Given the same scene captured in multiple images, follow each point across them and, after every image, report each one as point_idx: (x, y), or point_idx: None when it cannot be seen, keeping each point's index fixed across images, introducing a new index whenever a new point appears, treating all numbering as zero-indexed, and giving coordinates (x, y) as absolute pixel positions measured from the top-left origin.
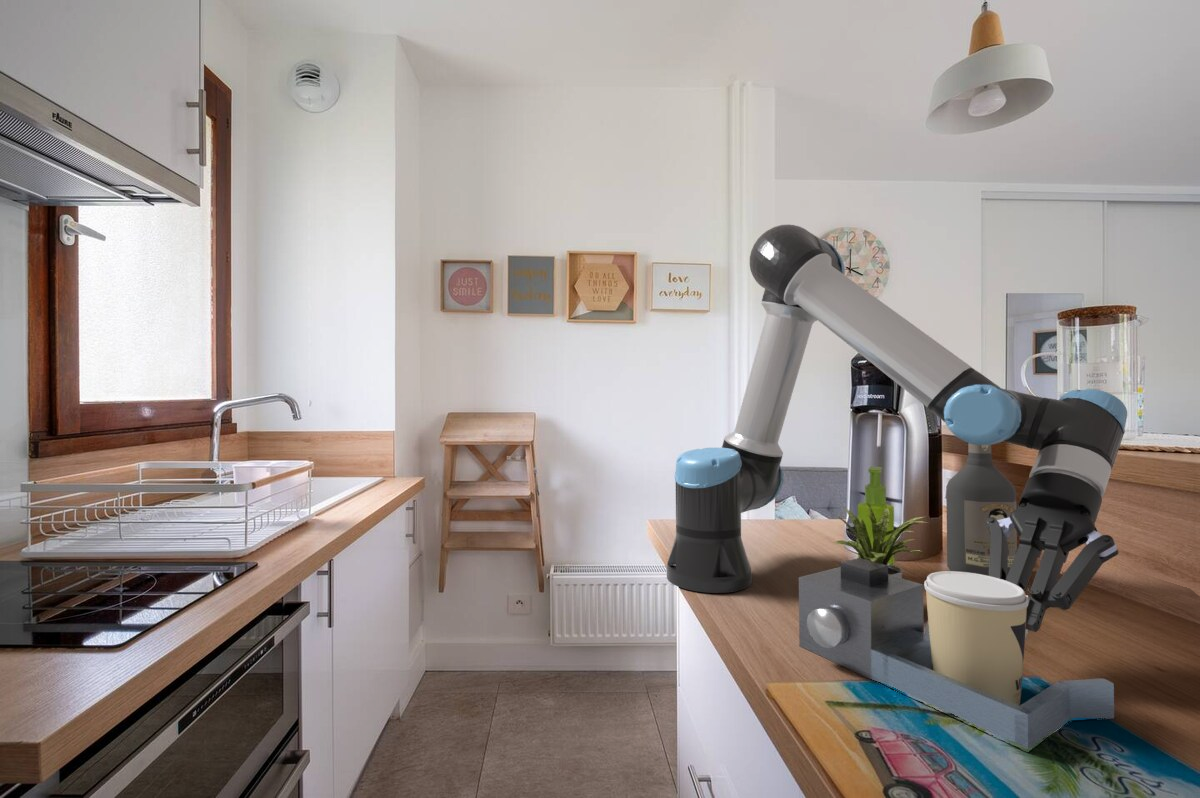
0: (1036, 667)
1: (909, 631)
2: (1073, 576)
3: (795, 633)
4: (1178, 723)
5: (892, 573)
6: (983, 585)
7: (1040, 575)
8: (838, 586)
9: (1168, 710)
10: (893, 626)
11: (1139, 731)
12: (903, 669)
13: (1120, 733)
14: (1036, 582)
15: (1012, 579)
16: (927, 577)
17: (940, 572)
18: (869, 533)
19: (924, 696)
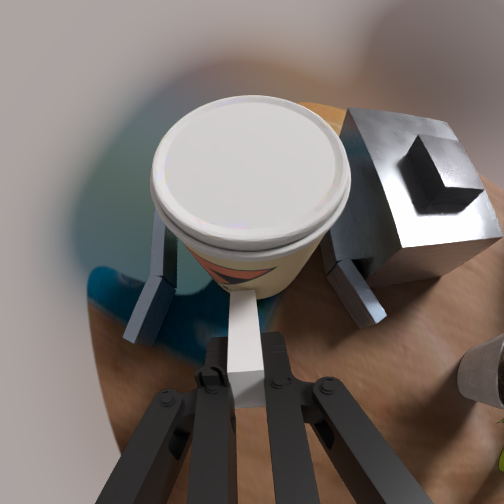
0: (255, 413)
1: (358, 235)
2: (132, 450)
3: None
4: (108, 390)
5: (502, 387)
6: (235, 165)
7: (215, 439)
8: (411, 125)
9: (122, 417)
10: (352, 186)
11: (121, 332)
12: None
13: (130, 309)
14: (219, 415)
15: (282, 402)
16: (322, 119)
17: (342, 164)
18: None
19: None
